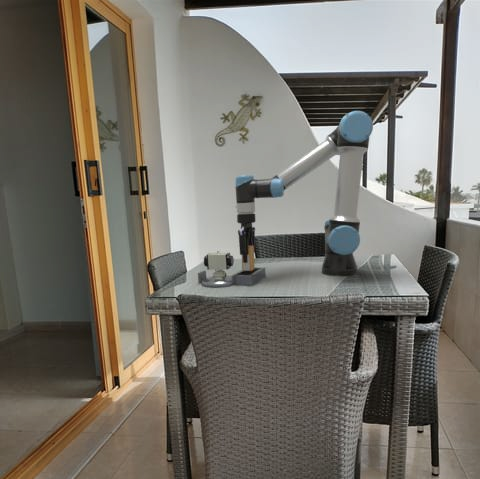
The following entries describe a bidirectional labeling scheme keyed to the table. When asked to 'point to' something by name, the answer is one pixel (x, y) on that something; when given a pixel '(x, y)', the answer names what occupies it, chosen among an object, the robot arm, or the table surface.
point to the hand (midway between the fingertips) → (248, 268)
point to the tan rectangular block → (250, 258)
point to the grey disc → (215, 283)
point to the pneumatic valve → (218, 263)
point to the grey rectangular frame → (249, 277)
